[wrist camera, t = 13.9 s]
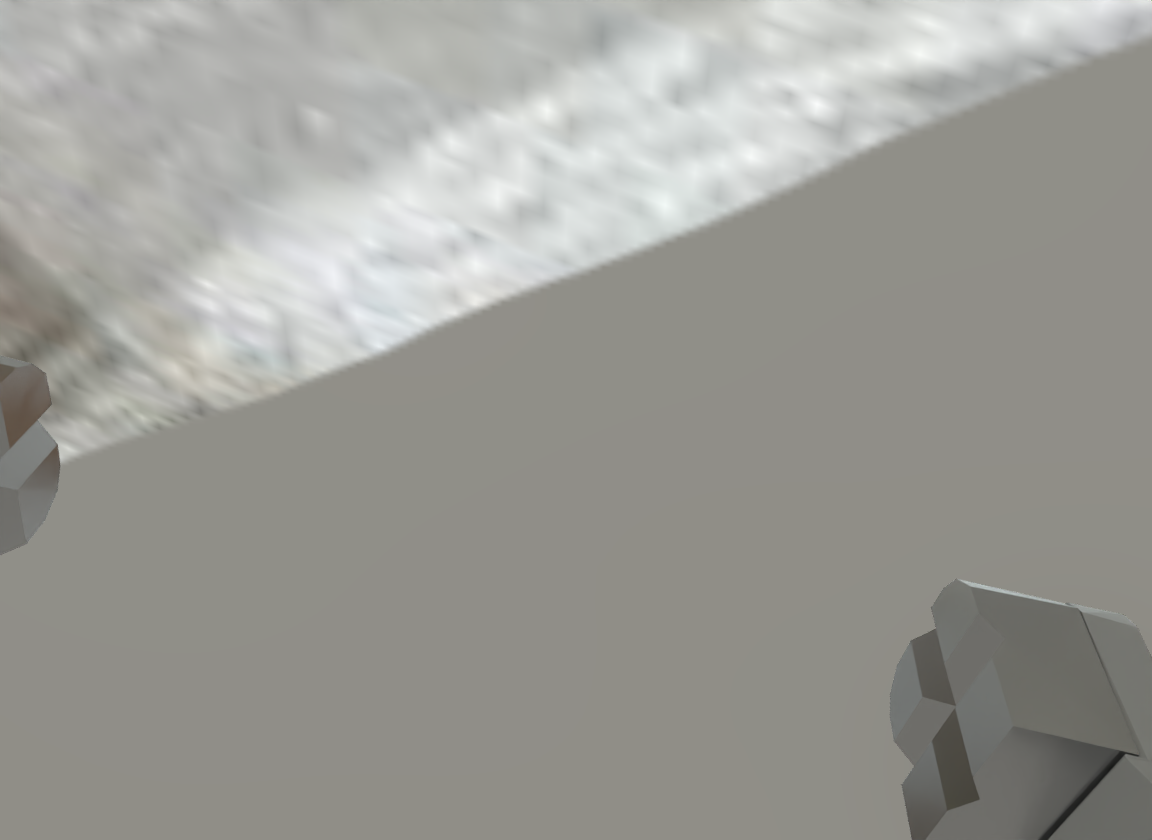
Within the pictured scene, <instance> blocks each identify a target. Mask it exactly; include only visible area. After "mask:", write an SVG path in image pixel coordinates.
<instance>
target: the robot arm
mask: <svg viewBox="0 0 1152 840" xmlns="http://www.w3.org/2000/svg"><path fill="white" fill-rule="evenodd" d="M51 405H52V402H51V397H50V391H49V386H48V381H47V376H46V373H45V372H43V371H42V370H41V369H39V368H38V367H36V366H35V365H34V364H31V363H28V362H24V361H20V360H16V359H12V358H8V357H4V356H0V555H2V554H4V553H6V552H9V551H11V550H14V549H16V548H18V547H20V546H23V545H25V544H27V543H28V541H29V540H30V539H31V537H32V536H33V535H34V534H35V532H36V531H37V530H38V528H39V527H40V526H41V525H42V524H43V522H44V521H45V519H46V517H47V514H48V512H49V510H50V507H51V505H52V503H53V500H54V498H55V495H56V493H57V490H58V482H59V474H60V459H59V450H58V444H57V443H56V442H55V440H54V439H53V438H52V437H51V436H50V434H49V433H48V432H47V431H46V430H45V428H44V427H43V426H42V425H41V424H40V423H39V421H38V419H39V418H40V417H41V416H42V415H43V414H44V413H45V412H46V410H47V409H48V408H49V407H50V406H51ZM931 609H932V614H933V617H934V622H935V627H936V629H934V630H932V631H930V632H928V633H926V634H924V635H922V636H920V637H917V638H915V639H913V640H911V641H910V643H909V645H908V647H907V649H906V650H905V652H904V654H903V656H902V658H901V659H900V661H899V663H898V665H897V668H896V672H895V676H894V680H893V685H892V689H891V693H890V720H891V726H892V732H893V738H894V742H895V743H896V744H897V745H898V747H899V748H900V749H901V750H902V752H903V753H904V754H905V755H906V757H907V758H908V759H909V760H910V762H911V763H912V764H913V765H914V768H913V769H912V771H911V772H910V773H909V775H908V776H907V778H906V779H905V781H904V782H903V784H902V789H903V795H904V800H905V806H906V810H907V816H908V822H909V827H910V832H911V838H912V840H1152V657H1151V655H1150V652H1149V650H1148V648H1147V646H1146V644H1145V642H1144V640H1143V638H1142V636H1141V633H1140V632H1139V629H1138V628H1137V626H1136V625H1135V624H1134V623H1133V622H1132V621H1131V620H1130V619H1129V618H1127V617H1126V616H1125V615H1124V614H1120V613H1115V612H1110V611H1106V610H1101V609H1096V608H1091V607H1086V606H1082V605H1077V604H1072V603H1065V604H1064V603H1060V602H1057V601H1053V600H1048V599H1044V598H1040V597H1035V596H1031V595H1026V594H1022V593H1017V592H1013V591H1008V590H1004V589H1000V588H995V587H991V586H986V585H982V584H978V583H973V582H969V581H964V580H960V579H955V580H954V581H953V582H951V583H950V584H949V585H947V586H946V587H945V588H944V589H943V590H942V591H941V593H940V595H939V596H938V598H937V599H936V601H935V602H934V604H933V606H932V607H931Z"/></svg>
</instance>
